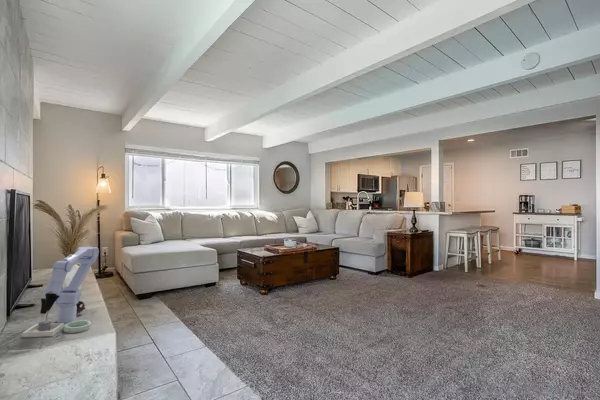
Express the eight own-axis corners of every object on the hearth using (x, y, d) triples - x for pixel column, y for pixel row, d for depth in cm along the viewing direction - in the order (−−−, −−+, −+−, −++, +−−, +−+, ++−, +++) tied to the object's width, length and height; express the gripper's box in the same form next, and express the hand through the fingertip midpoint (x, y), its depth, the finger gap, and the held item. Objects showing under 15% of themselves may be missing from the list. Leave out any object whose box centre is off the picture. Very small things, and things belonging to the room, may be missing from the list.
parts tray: (35, 329, 157) (36, 323, 157) (63, 328, 160) (64, 322, 160) (21, 338, 145) (22, 332, 145) (52, 337, 149) (53, 331, 149)
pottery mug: (88, 311, 190) (89, 301, 187) (78, 323, 181) (79, 312, 178) (66, 306, 188) (68, 295, 185) (55, 318, 179) (56, 307, 176)
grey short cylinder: (40, 330, 154) (41, 321, 155) (51, 329, 156) (52, 320, 156) (35, 333, 150) (36, 324, 150) (47, 333, 151) (48, 323, 151)
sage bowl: (69, 326, 163) (69, 320, 163) (93, 325, 166) (94, 320, 166) (59, 334, 152) (60, 328, 152) (85, 333, 155) (86, 327, 155)
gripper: (42, 285, 160) (31, 313, 153) (49, 278, 152) (37, 307, 144) (59, 288, 164) (48, 315, 157) (66, 281, 156) (56, 309, 148)
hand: (44, 312), depth 151 cm, fingers open, 7 cm apart
